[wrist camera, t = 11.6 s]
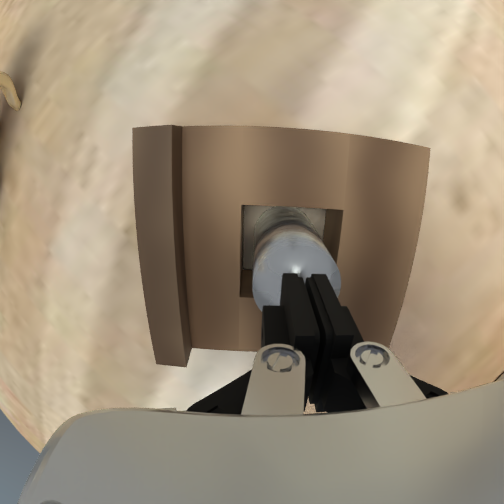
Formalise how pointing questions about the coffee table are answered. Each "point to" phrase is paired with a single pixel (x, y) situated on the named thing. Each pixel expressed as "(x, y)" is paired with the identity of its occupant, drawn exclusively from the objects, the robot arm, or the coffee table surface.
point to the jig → (267, 194)
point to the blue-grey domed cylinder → (287, 253)
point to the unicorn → (9, 91)
